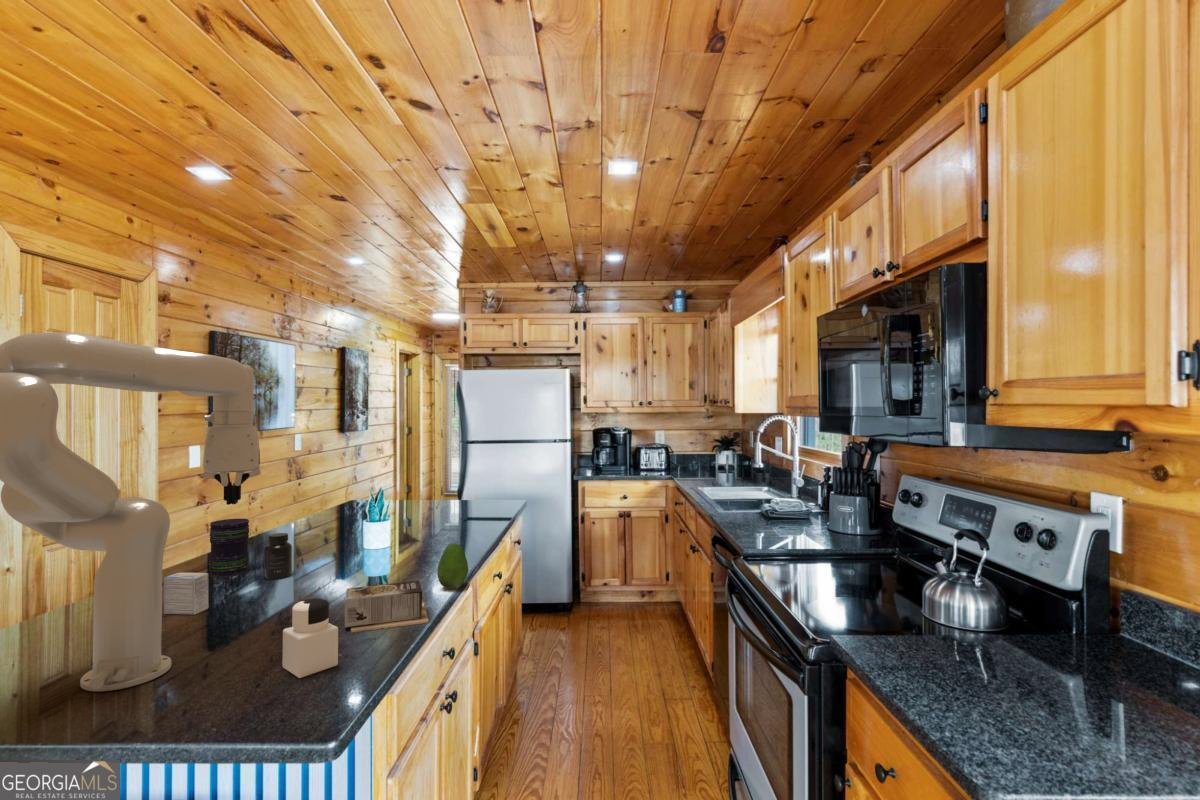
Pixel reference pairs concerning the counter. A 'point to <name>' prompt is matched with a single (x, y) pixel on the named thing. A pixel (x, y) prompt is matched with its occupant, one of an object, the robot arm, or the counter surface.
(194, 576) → the medicine box
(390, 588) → the coffee box
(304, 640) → the medicine bottle
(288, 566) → the supplement bottle
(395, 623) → the wooden cutting board
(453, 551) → the avocado
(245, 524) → the dark purple cylinder
